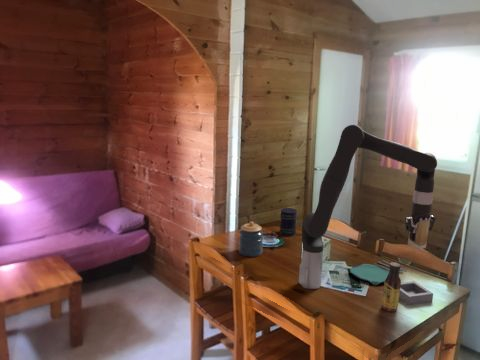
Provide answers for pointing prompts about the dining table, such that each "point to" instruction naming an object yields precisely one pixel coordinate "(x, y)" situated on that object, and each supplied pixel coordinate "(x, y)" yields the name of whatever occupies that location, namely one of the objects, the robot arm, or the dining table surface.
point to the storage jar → (288, 222)
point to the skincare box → (420, 235)
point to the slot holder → (414, 293)
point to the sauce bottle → (391, 288)
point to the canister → (250, 240)
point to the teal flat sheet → (372, 272)
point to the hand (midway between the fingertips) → (417, 240)
